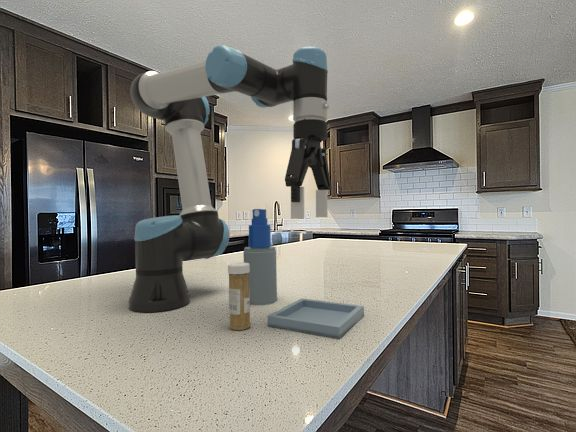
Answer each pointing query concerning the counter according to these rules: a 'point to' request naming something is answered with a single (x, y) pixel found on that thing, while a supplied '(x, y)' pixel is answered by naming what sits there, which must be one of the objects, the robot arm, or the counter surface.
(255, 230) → the spray bottle
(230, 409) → the counter surface
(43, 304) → the counter surface
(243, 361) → the counter surface
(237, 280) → the sprinkles bottle
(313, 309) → the tray
